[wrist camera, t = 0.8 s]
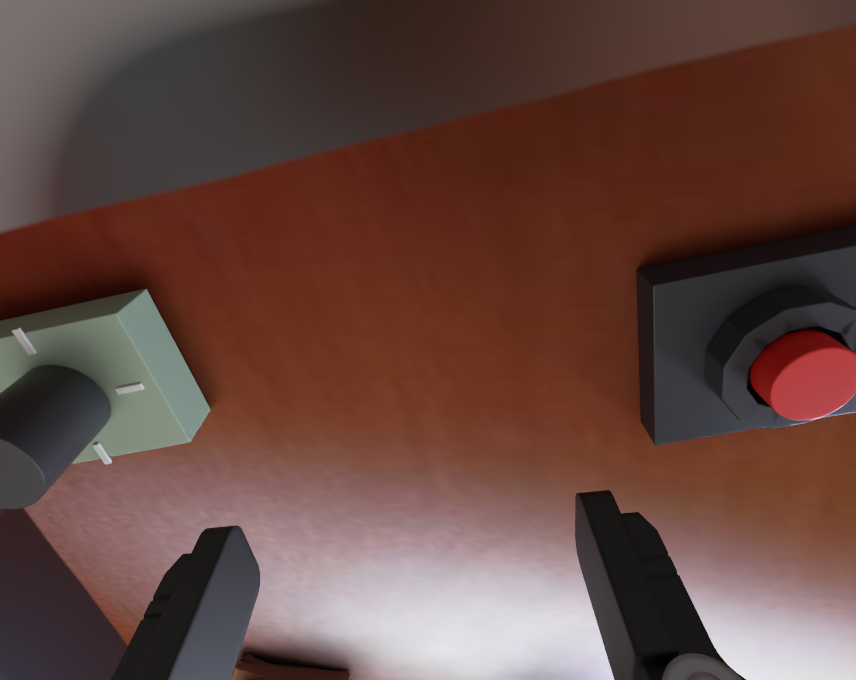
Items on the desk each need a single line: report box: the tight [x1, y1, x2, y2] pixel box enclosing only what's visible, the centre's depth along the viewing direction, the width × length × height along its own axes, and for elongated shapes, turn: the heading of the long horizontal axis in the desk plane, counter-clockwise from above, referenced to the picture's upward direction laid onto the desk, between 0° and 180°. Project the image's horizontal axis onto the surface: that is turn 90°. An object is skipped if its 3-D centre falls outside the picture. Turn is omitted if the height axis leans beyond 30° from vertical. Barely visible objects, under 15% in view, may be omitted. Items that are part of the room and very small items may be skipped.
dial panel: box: [0, 289, 210, 464], centre depth 27 cm, size 10×9×3 cm
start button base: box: [637, 225, 856, 445], centre depth 26 cm, size 12×10×4 cm
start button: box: [750, 330, 856, 421], centre depth 24 cm, size 4×4×2 cm
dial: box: [0, 365, 110, 509], centre depth 24 cm, size 4×4×6 cm
